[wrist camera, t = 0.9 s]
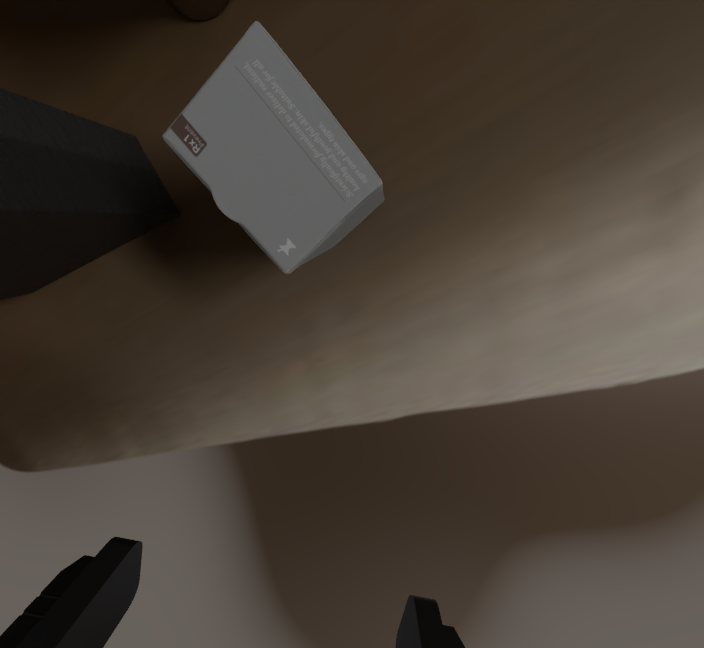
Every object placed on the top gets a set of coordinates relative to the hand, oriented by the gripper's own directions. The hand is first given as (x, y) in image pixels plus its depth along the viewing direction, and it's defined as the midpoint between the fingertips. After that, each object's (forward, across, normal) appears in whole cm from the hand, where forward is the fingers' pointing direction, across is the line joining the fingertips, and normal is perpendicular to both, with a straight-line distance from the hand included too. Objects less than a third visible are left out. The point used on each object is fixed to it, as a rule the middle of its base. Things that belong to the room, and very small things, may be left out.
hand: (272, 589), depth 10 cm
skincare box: (+23, +4, -15) cm, 28 cm away
